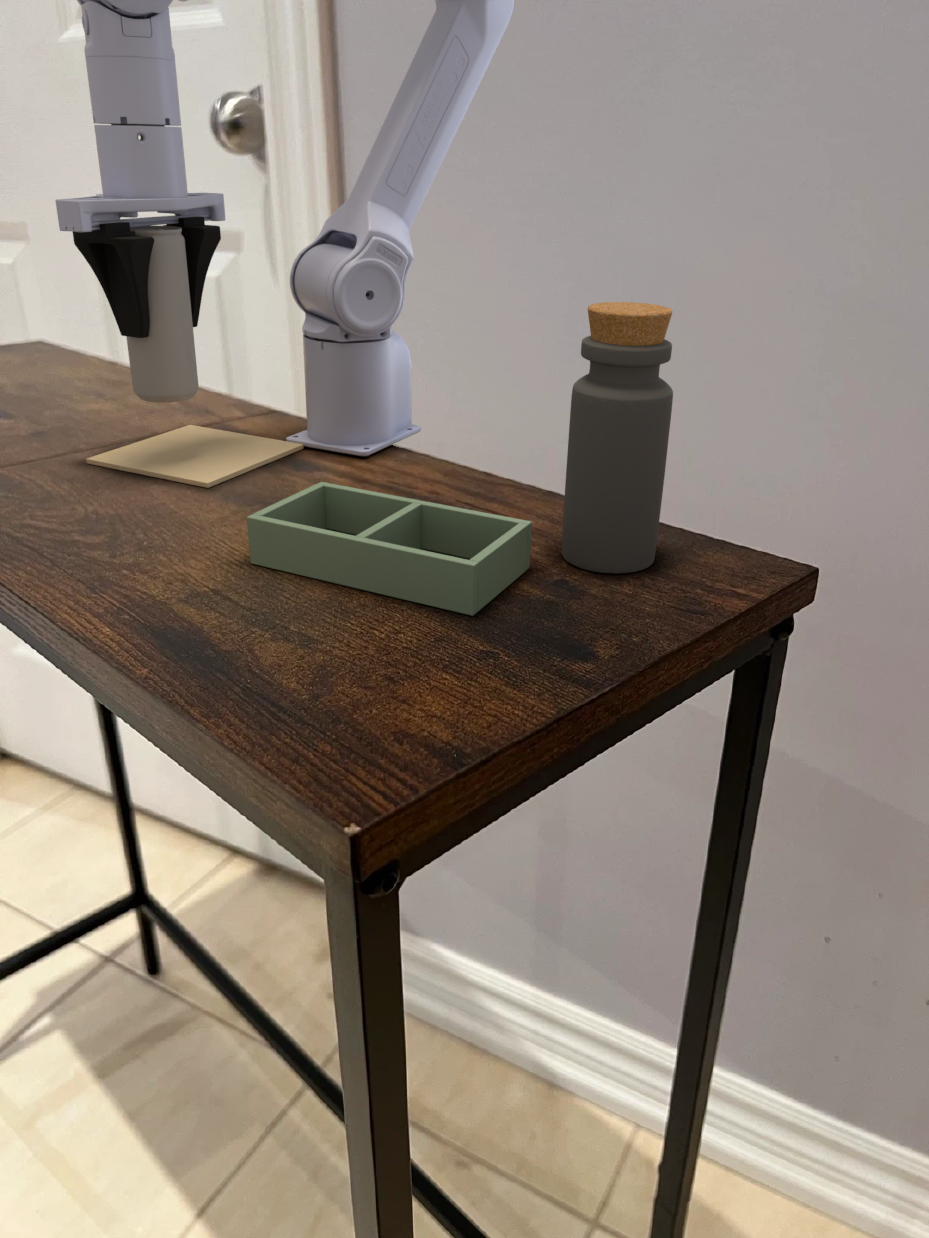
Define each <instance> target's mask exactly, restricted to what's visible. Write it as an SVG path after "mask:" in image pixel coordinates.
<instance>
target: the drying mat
mask: <svg viewBox="0 0 929 1238" xmlns="http://www.w3.org/2000/svg"><path fill="white" fill-rule="evenodd" d="M301 450H304V446H303V444H299V443H293V442H287V441H286V440H281V439H276V438H275V439H274V438H270V437H265V436H264V437H263V436H257V435H252V434H246V433H242V432H241V433H240V432H235V431H228V430H224V429H223V430H222V429H217V428H212V427H205V426H200V425H194V424H188V425H185V426H181V427H179V428H176V429H173V430H170V431H167V432H164V433H160V434H158V435H155V436H151V437H149V438H146V439H142V440H139V441H136V442H133V443H130V444H127V445H124V446H120V447H117V448H115V449H111V450H108V451H106V452H102V453H99V454H97V455H96V454H95V455H93V456H90V457H86V458H85V460H86V464H88V465H93V466H98V467H103V468H108V469H112V470H118V471H122V472H127V473H132V474H138V475H142V476H146V477H152V478H156V479H162V480H166V481H171V482H177V483H182V484H187V485H191V486H196V487H202V488H205V489H209V488H212V487H214V486H216V485H218V484H221V483H224V482H226V481H229V480H231V479H233V478H235V477H238V476H241V475H243V474H245V473H248V472H250V471H253V470H255V469H258V468H260V467H263V466H265V465H267V464H271V463H272V462H274V461H277V460H279V459H282V458H285V457H288V456H289V455H291V454H294V453H297V452H300V451H301Z"/></svg>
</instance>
